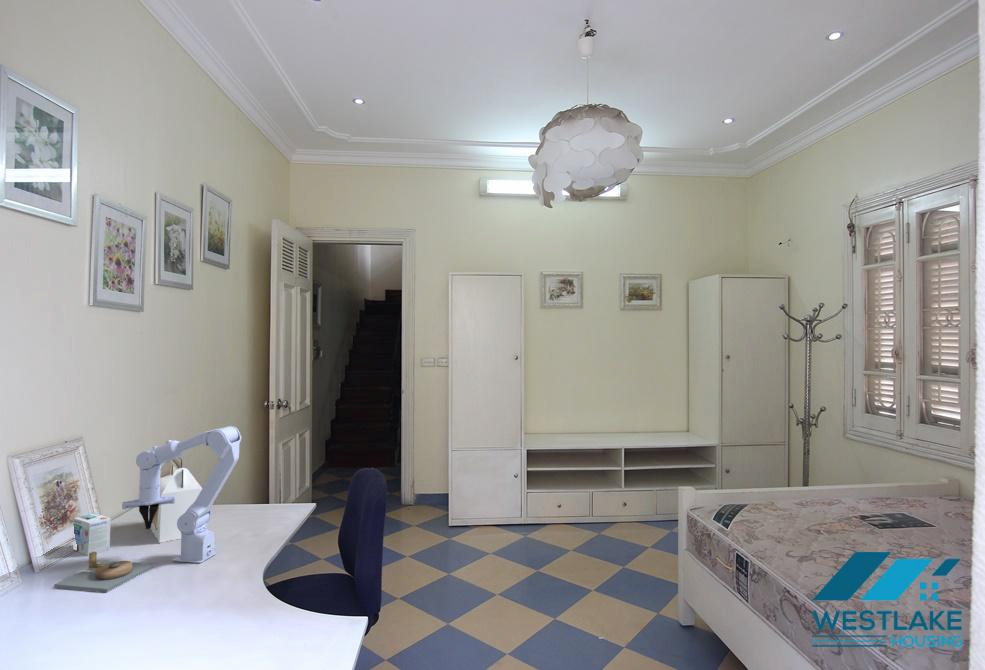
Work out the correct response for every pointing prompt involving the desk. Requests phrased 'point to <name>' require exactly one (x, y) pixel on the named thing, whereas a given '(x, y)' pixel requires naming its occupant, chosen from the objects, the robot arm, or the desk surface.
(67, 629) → the desk surface
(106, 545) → the light bulb box
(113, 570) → the dial
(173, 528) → the gable box
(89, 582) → the base plate
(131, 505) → the robot arm
